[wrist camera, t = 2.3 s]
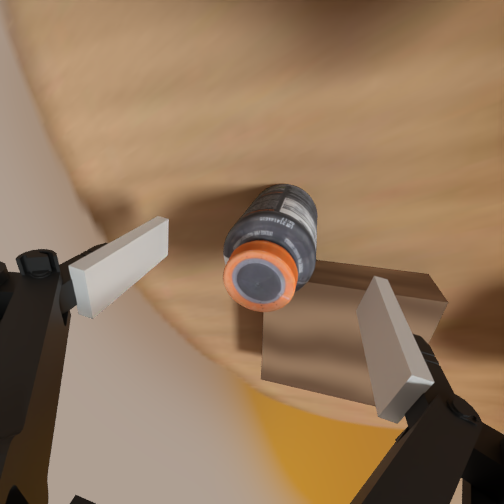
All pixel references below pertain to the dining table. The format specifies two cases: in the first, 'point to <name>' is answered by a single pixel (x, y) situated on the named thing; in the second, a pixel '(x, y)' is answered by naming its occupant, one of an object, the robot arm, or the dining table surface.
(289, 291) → the pill bottle
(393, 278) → the walnut block
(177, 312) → the dining table surface
